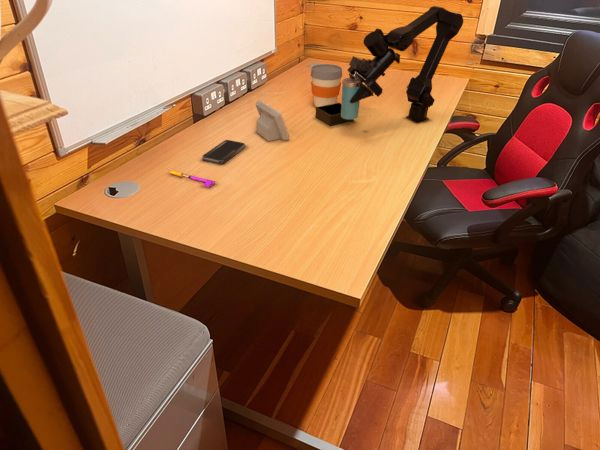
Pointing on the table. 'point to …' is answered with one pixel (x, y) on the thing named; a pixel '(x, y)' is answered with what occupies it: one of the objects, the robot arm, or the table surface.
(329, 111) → the tray
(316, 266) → the table surface
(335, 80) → the reusable coffee cup
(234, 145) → the phone
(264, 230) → the table surface
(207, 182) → the multicoloured piece
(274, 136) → the digital clock
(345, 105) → the tin
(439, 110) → the table surface
